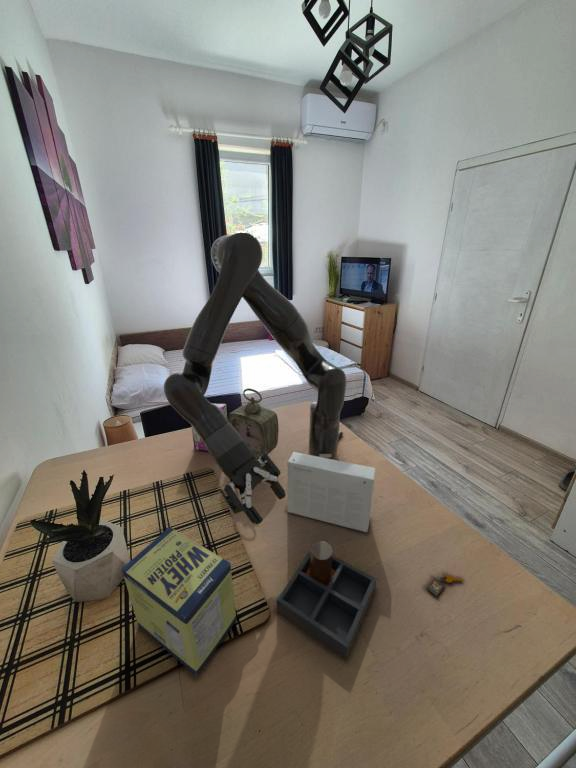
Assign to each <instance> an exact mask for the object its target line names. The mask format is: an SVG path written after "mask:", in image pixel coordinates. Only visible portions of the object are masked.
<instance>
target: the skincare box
mask: <svg viewBox="0 0 576 768" xmlns="http://www.w3.org/2000/svg"><path fill="white" fill-rule="evenodd" d="M286 463H287V464H286V465H287V482H286V493H287V494H286V497H287V499H286V502H287V505H286V512H287V513H290V514H294V515H298V516H301V517H306V518H309V519H312V520H317V521H321V522H325V523H329V524H332V525H336V526H341V527H344V528H348V529H352V530H356V531H360V532H363V533H368V532H369V526H370V519H371V511H372V504H373V495H374V489H375V479H376V470H377V468H376V467H372V466H368V465H367V466H366V465H362V464H357V463H351V462H347V461H342V460H338V459H337V460H332V459H327V458H322V457H317V456H312V455H309V454H306V453H302V452H297V451H293V452H292V453H291V455H290V457H289V459H288V460H287V462H286Z"/></svg>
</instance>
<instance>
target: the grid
mask: <svg viewBox="0 0 576 768" xmlns="http://www.w3.org/2000/svg"><path fill="white" fill-rule="evenodd" d="M310 555H311V549H310V550H309V552H308V553H307V554H306V556H305V557H304V559H303V560H302V562H301V564H300V565H299V567H298V568H297V569H296V571H295V572H294V574H293V575H292V577H291V578H290V579H289V581H288V583H287V584H286V585H285V587H284V588H283V590H282V591H281V593H280V595H279V596H278V597H277V599H276V612H277V613H278V614H280V615H281V616H282V617H284V618H285V619H287V620H288V621H290V622H291V623H293V624H294V625H295V626H297V627H298V628H300V629H301V630H303V631H304V632H305V633H307V634H308V635H310V636H311V637H312V638H314V639H316V640H317V641H318V642H320V644H323V645H324V646H325V647H327V648H328V649H329V650H331V651H333V652H334V653H335V654H337V655H339V657H341V658H343V659H344V660H347V659H348V656H349V654H350V651H351V649H352V647H353V644H354V642H355V640H356V637H357V635H358V632H359V630H360V627H361V625H362V623H363V620H364V617H365V615H366V613H367V611H368V608H369V605H370V603H371V600H372V599H373V596H374V593H375V591H376V585H377V581H378V580H377V578H376V577H374V576H372V575H370V574H368V573H367V572H364V571H362V570H360V569H359V568H357V567H355V566H353V565H351V564H350V563H347V562H346V561H344V560H341V559H340V558H338V557H336V556H335V555H332V567H331V579H330V582H329V584H328V585H326V586H325V585H324V584H322V583H320V582H319V581H317V580H315V579H314V578H312V577H310Z"/></svg>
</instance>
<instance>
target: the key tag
mask: <svg viewBox="0 0 576 768" xmlns="http://www.w3.org/2000/svg"><path fill="white" fill-rule="evenodd" d="M443 580H444V581H445V582H446V583H448V584H450V583H451V584H452V582H462V581H463V578H459V577H453V576H451V575H450V574H447V573H445V574H443V576H441V577H440V578H439V579H438V578H437V577H434V578H433V580H431V582H430V583H429V584H428V585H427V587H426V590H427V591H428V592H430V593H431V594H432V595H434V596H435V597H438V595H439V594H440V592H442V590H443V589H444V587H445V586H446V583H443V582H442V581H443Z"/></svg>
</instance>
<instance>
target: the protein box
mask: <svg viewBox="0 0 576 768" xmlns="http://www.w3.org/2000/svg"><path fill="white" fill-rule="evenodd" d="M231 565H232V564H231V562H230V561H228V560H227V559H225V558H223V557H221V556H220V555H218V554H216V553H214V552H213V551H211V550H209V549H208V548H206V547H204V546H202V545H201V544H200V543H198V542H196V541H194V540H192V539H191V538H189V537H188V536H186V535H185V534H182V533H181V532H179V531H177V530H176V529H174V528H173V527H171V526H169V527H167V528H166V529H165V530H164V531H163V532H162V533H161V534H160V535H158V536H157V537H155V539H154V540H153V541H152V542H150V543H149V544H148V545H146V547H145V548H143V549H142V550H141V551H140V552H139V553H138V554H136V555H135V556H134V557H133V558H132V559H131V560H130V561H128V562H127V563H126V564H125V565H124V566H122V567H121V571H122V575H123V579H124V583H125V586H126V590H127V592H128V597H129V599H130V602H131V606H132V609H133V613H134V615H135V616H134V617H135V619H136V622H137V626H138V628H140V629H141V630H142V631H143V632H145V633H146V634H147V635H148V636H149V637H151V639H153V640H154V641H155V642H156V643H157V644H158V645H160V646H161V647H162V648H163V649H165V650H166V651H167V652H168V653H169V654H170V655H171V656H173V657H174V658H175V659H176V660H177V661H178V662H180V663H181V664H182V665H183V666H184V667H185V668H186V669H188V670H189V671H190V672H191V673H192V674H194V675H195V676H197V677H198V676H199V674H200V673H201V672H202V670H203V669H204V668H205V666H206V665H207V663H208V662H209V661H210V659H211V658H212V656H213V654H215V652H216V650H217V649H218V648H219V646H220V645H221V643H222V642H223V640H224V639H225V638H226V636H227V634H228V633H229V632H230V630H231V629H232V628H233V626H234V625H235V623H236V621H237V619H238V618H237V613H236V612H237V611H236V604H235V595H234V594H235V593H234V584H233V575H232V574H233V573H232V566H231Z"/></svg>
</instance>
